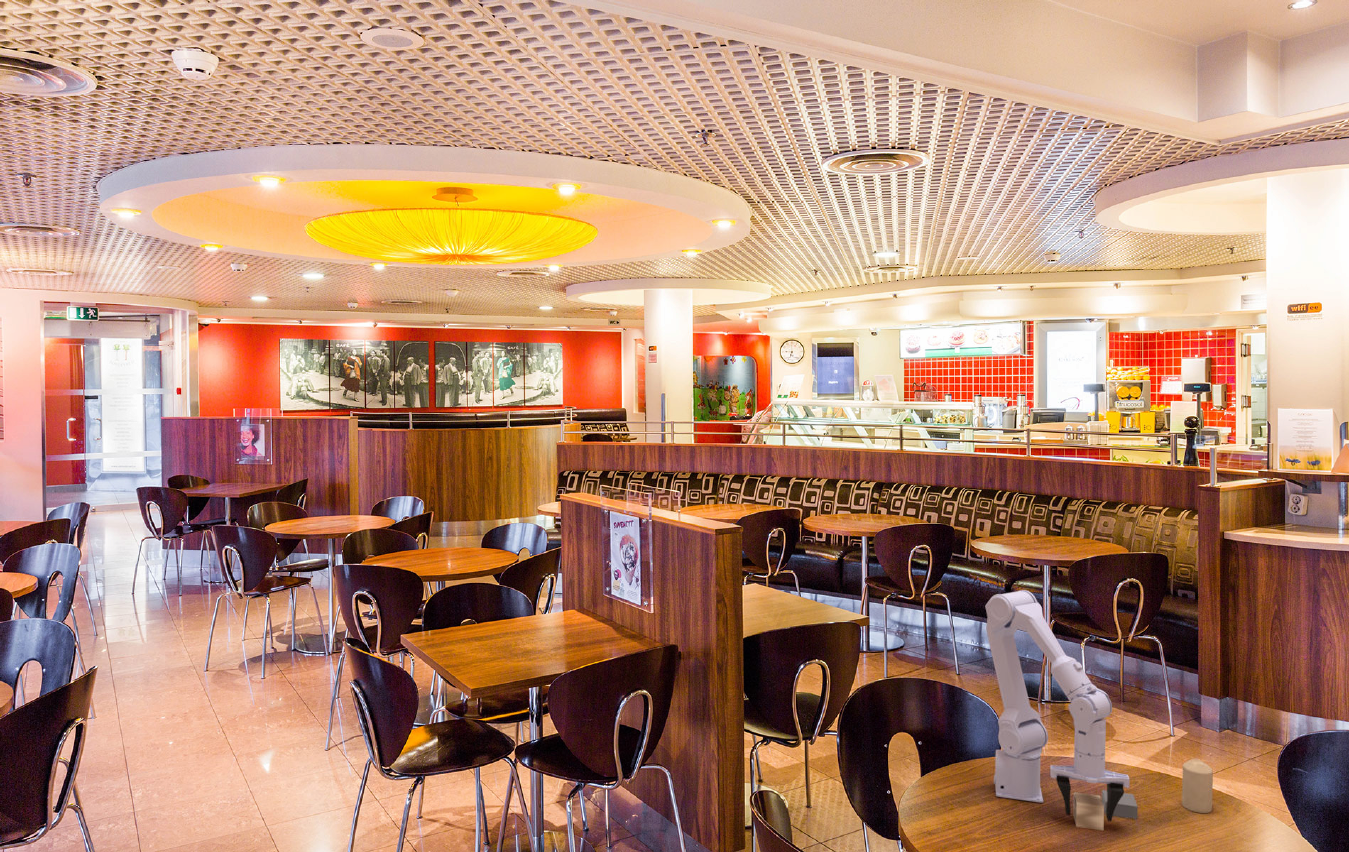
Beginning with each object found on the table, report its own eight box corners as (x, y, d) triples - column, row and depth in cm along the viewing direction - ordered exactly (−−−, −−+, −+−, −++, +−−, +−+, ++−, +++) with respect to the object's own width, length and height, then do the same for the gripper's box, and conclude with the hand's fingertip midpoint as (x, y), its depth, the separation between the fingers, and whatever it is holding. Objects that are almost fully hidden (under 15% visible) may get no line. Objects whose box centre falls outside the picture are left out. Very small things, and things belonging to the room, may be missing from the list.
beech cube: (1076, 827, 177) (1076, 802, 176) (1073, 815, 181) (1073, 792, 181) (1103, 830, 175) (1104, 806, 175) (1099, 819, 180) (1100, 795, 180)
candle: (1216, 814, 182) (1217, 767, 182) (1187, 812, 183) (1188, 765, 183) (1205, 802, 187) (1207, 757, 187) (1177, 800, 188) (1179, 754, 188)
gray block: (1105, 816, 182) (1105, 801, 182) (1101, 803, 187) (1102, 789, 187) (1137, 820, 180) (1137, 806, 180) (1133, 808, 185) (1133, 794, 185)
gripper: (1053, 753, 176) (1051, 819, 177) (1132, 763, 172) (1131, 830, 172) (1049, 740, 183) (1048, 803, 183) (1126, 749, 178) (1124, 814, 179)
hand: (1088, 815), depth 178 cm, fingers open, 7 cm apart
